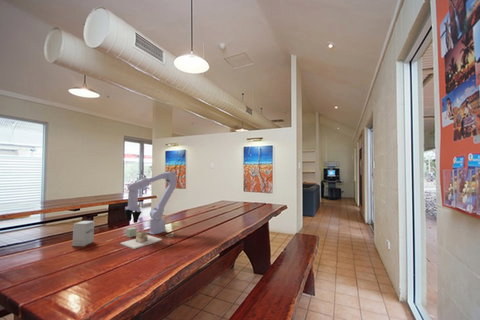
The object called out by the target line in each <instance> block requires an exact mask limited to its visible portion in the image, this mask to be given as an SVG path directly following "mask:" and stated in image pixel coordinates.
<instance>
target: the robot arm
mask: <svg viewBox="0 0 480 320" xmlns="http://www.w3.org/2000/svg"><path fill="white" fill-rule="evenodd" d="M177 179H178V175H177V173H176V172H175V171H168V170H167V171H166V172H161V173H158V174H156V175H154V176H152V177H149V178H148V177H142V178H141V179H140V180H135V181H134V182H130V183H129V184H128V186H127V189H128V194H127V195H128V196H127V206H125V207H124V210H123V213H124V215H125V217H126V222H131V221H132V222H133V223H134V224H136V223H138V221H139V219H140V218H139V217H140V215H141V214H142V211H141V208H140V207H138V206H139V205H138V203H139V190H141V189H144V188H146V187H149V186H150V185H151V183H154V182H157V181H159V180H165V181H166V183H167V185H168V186H167V187H166V188H165V191H164V192H163V194H162V195H161V197H160V199H159V201H158V203H157V204H156V205H155V206H154V207H153V209H151V210H150V212H149V217H150V220H149V224H150V225H149V231H147V232H148V233H147V234H151V235H157V234H161V233H165V232H166V220H165V218H163V213H164V212H165V210H164V209H165V207H166V205H167V203H168V201H169V199H170V198H171V196H172V194H173V193H174V191H175V189H176V187H177ZM132 219H133V220H132Z"/></svg>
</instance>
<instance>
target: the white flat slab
mask: <svg viewBox="0 0 480 320" xmlns="http://www.w3.org/2000/svg"><path fill="white" fill-rule="evenodd" d="M162 240H163V239H162V238H159V237H157V236H156V237H155V236H154V235H148V234H147V241H144V242H141V243H140V242H137V241H136V238H133V239H129V240H126V241H122V242H119V244H120V245H121V246H124V247H127V248H129V249H132V250H136V249H139V248H142V247H145V246H148V245H151V244H152V245H153V244H155V243H158V242H161V241H162Z"/></svg>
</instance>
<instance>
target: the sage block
mask: <svg viewBox="0 0 480 320" xmlns="http://www.w3.org/2000/svg"><path fill="white" fill-rule="evenodd" d="M137 229H138V228H137V227H133V226H132V227H128V228H126V229H125V237H126V238H133V236H134V237H136V233H137V232H138V231H137Z"/></svg>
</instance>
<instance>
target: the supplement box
mask: <svg viewBox="0 0 480 320" xmlns="http://www.w3.org/2000/svg"><path fill="white" fill-rule="evenodd" d="M72 228H73V229H72V241H71V242H72V243H71V246H72V247H85V246H87V245H90V244H92V243H93V242H94V237H95V235H94V234H95V220H82V221H78V222H75V223H73V227H72Z"/></svg>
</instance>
